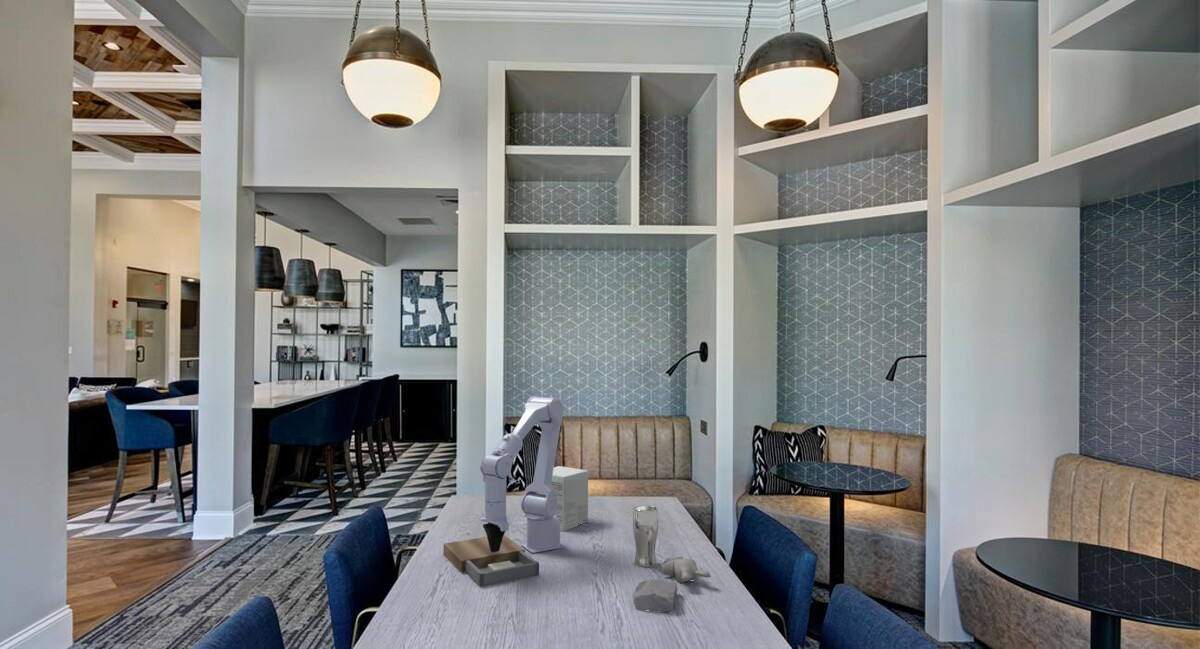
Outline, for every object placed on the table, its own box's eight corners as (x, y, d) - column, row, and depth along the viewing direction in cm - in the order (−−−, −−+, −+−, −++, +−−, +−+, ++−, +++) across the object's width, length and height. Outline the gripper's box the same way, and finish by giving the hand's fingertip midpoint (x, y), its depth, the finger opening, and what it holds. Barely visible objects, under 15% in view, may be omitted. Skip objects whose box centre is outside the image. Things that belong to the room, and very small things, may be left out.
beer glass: (661, 561, 170) (661, 506, 170) (652, 569, 163) (653, 512, 164) (638, 557, 172) (638, 503, 173) (628, 565, 166) (629, 509, 167)
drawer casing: (503, 544, 183) (503, 534, 183) (524, 560, 169) (524, 549, 169) (443, 554, 174) (443, 543, 174) (461, 572, 160) (461, 560, 160)
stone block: (633, 619, 138) (677, 613, 136) (629, 597, 138) (672, 591, 137) (639, 599, 149) (679, 594, 148) (635, 579, 150) (676, 574, 148)
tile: (518, 567, 157) (518, 575, 157) (509, 560, 162) (509, 568, 162) (495, 571, 154) (495, 580, 154) (487, 564, 159) (487, 572, 159)
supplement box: (558, 515, 214) (559, 465, 215) (588, 522, 207) (589, 470, 207) (533, 524, 203) (533, 471, 204) (563, 531, 196) (564, 476, 196)
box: (522, 561, 168) (522, 550, 168) (539, 574, 159) (539, 563, 159) (465, 572, 160) (465, 560, 160) (479, 586, 151) (479, 574, 151)
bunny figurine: (686, 552, 166) (714, 564, 152) (687, 572, 165) (715, 585, 151) (654, 556, 162) (680, 568, 149) (655, 576, 162) (681, 590, 148)
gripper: (472, 496, 169) (471, 545, 168) (490, 508, 156) (490, 562, 156) (496, 493, 172) (495, 541, 172) (516, 504, 160) (515, 557, 160)
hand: (494, 551), depth 164 cm, fingers closed
